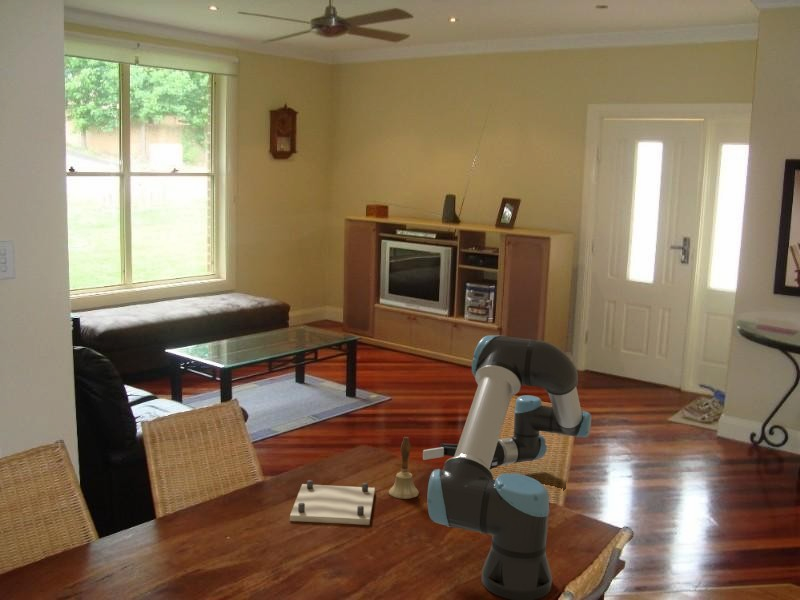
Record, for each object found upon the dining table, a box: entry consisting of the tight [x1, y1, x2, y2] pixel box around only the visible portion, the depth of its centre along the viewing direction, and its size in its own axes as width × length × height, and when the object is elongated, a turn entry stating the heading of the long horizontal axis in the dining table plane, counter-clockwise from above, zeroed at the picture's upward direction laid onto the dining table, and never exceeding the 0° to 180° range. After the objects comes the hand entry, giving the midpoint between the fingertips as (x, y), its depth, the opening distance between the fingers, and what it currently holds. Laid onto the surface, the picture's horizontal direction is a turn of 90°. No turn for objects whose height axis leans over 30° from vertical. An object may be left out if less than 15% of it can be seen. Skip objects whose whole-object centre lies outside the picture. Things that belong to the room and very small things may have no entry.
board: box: [289, 479, 376, 526], centre depth 213 cm, size 20×20×4 cm
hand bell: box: [388, 436, 420, 500], centre depth 222 cm, size 8×8×16 cm
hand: (435, 463), depth 227 cm, fingers open, 13 cm apart
